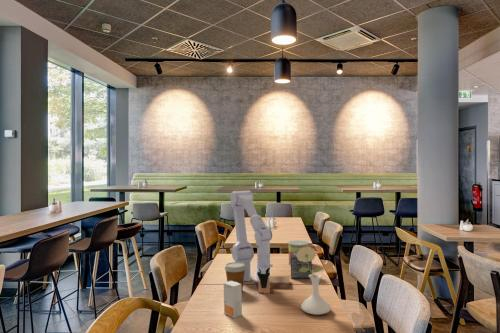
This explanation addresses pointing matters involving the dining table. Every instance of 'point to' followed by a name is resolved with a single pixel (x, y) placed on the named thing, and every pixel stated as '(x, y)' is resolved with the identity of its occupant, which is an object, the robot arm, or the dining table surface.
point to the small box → (298, 265)
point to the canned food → (296, 248)
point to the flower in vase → (315, 301)
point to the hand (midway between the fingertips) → (264, 285)
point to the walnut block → (279, 282)
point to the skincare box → (232, 299)
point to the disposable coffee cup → (235, 272)
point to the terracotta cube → (264, 290)
